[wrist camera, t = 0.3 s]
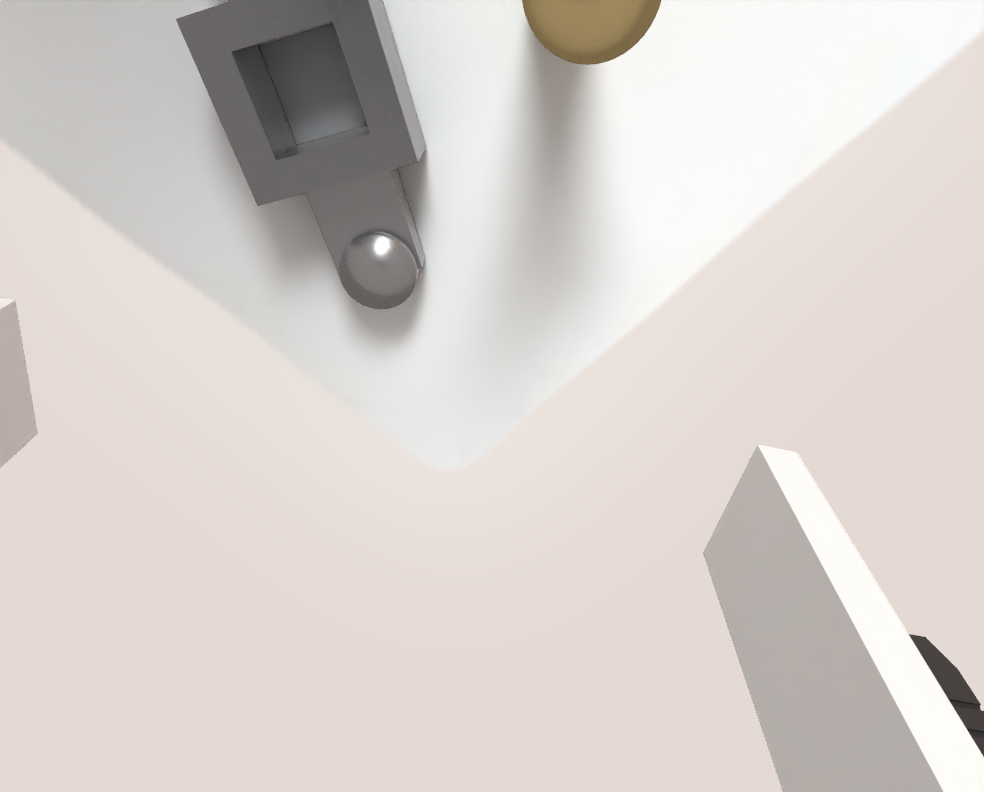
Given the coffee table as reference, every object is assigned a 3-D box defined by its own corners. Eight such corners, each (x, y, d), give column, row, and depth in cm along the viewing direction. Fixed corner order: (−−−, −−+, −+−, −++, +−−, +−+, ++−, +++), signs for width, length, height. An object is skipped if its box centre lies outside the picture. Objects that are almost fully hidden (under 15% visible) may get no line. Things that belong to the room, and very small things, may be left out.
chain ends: (129, -174, 28) (82, -194, 25) (310, -243, 26) (284, -272, 23) (330, 308, 39) (314, 335, 36) (464, 275, 37) (460, 300, 34)
